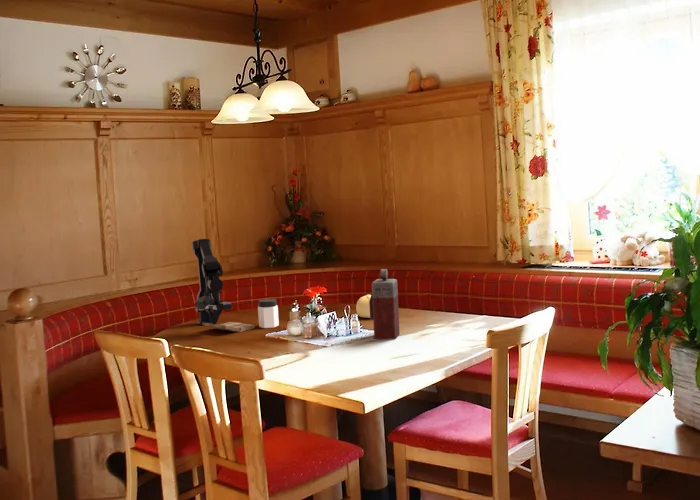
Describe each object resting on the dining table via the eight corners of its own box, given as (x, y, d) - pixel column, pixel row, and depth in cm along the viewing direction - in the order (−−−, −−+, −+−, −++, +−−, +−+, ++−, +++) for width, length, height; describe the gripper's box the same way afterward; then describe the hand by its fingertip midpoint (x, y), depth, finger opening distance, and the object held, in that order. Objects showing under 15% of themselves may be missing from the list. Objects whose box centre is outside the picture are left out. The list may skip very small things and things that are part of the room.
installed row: (216, 328, 351) (216, 325, 351) (231, 324, 358) (231, 321, 357) (240, 331, 341) (239, 328, 340) (254, 328, 347) (254, 324, 347)
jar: (282, 325, 349) (280, 299, 348) (267, 329, 344) (265, 302, 343) (271, 323, 356) (269, 297, 355) (256, 326, 351) (254, 300, 349)
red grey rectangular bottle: (373, 333, 323) (370, 267, 320) (399, 334, 320) (396, 267, 317) (368, 338, 314) (365, 270, 311) (395, 339, 311) (392, 270, 308)
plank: (202, 325, 345) (202, 322, 345) (215, 327, 351) (216, 325, 351) (225, 328, 334) (226, 325, 334) (239, 331, 340) (239, 328, 340)
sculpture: (382, 319, 353) (381, 295, 352) (356, 320, 354) (355, 297, 352) (382, 314, 365) (381, 291, 364) (356, 315, 365) (355, 293, 364)
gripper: (184, 290, 338) (186, 325, 340) (212, 292, 326) (214, 329, 328) (204, 287, 347) (206, 321, 348) (232, 289, 335) (234, 324, 336)
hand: (214, 324), depth 340 cm, fingers closed, pressing on plank
